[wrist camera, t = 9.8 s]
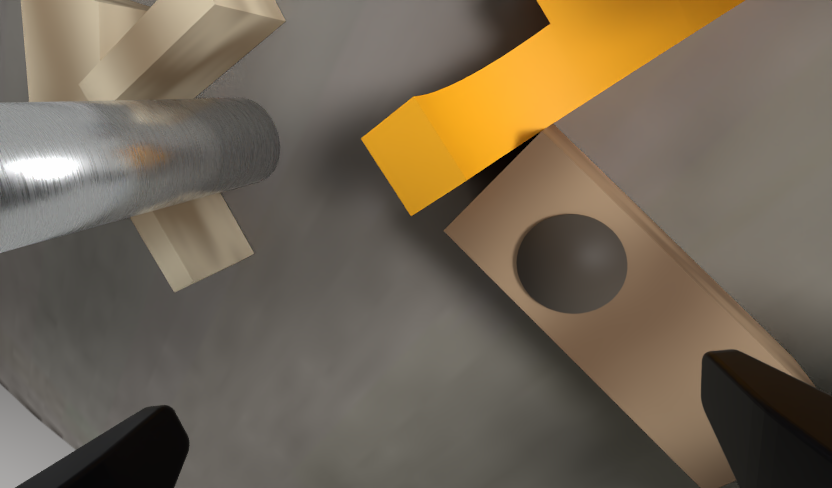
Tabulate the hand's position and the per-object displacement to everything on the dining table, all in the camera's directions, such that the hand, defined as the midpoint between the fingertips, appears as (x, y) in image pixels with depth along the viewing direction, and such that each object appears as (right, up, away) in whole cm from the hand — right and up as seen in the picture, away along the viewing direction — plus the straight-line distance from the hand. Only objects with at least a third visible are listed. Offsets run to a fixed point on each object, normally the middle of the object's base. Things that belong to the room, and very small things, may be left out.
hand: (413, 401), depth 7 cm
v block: (-11, +9, +15) cm, 21 cm away
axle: (-8, +8, +14) cm, 18 cm away
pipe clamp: (+6, +10, +8) cm, 14 cm away
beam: (+8, +1, +10) cm, 13 cm away
